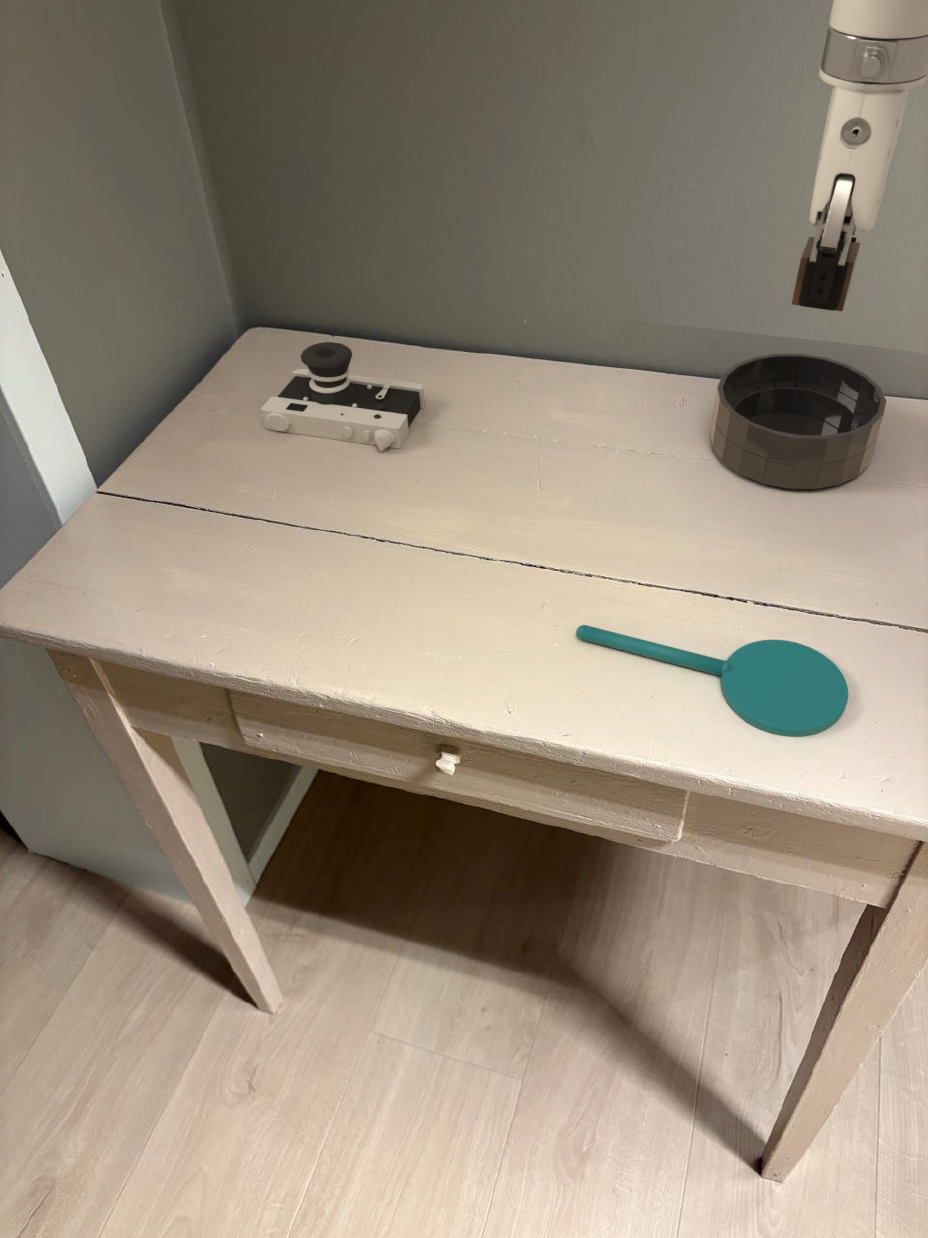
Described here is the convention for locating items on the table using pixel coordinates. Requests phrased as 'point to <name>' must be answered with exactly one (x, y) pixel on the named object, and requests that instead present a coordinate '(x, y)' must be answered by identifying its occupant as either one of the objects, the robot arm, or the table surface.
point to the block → (852, 260)
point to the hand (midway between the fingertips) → (822, 291)
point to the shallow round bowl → (796, 420)
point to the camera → (343, 402)
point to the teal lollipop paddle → (758, 680)
